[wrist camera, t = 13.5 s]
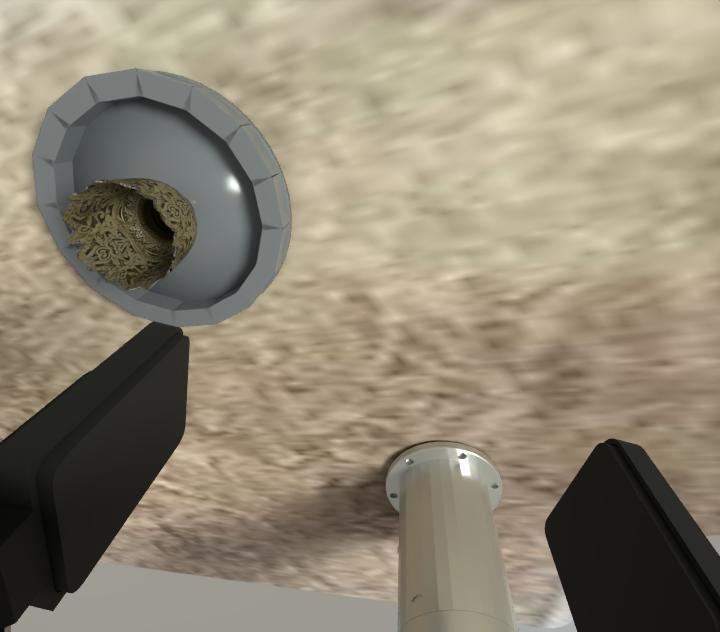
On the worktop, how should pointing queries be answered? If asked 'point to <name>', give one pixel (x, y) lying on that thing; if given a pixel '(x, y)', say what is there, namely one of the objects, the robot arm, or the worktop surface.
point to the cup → (131, 229)
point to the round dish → (181, 171)
